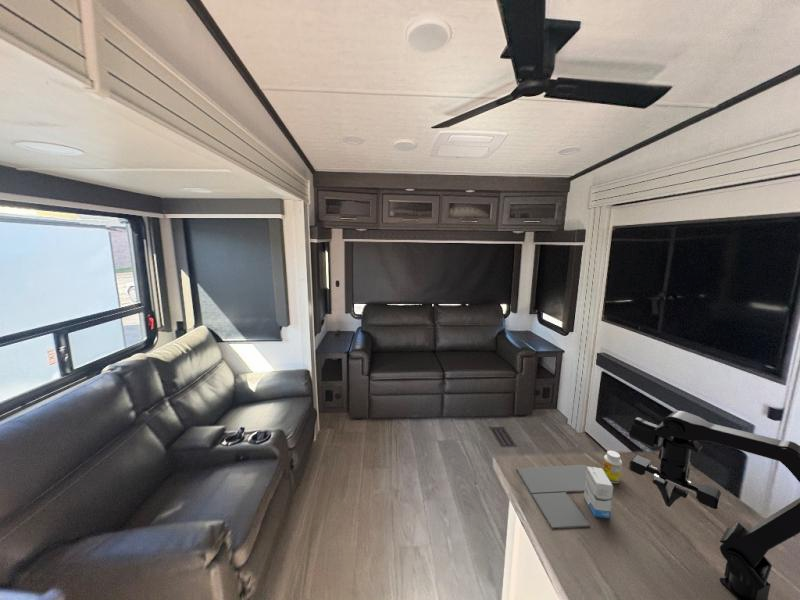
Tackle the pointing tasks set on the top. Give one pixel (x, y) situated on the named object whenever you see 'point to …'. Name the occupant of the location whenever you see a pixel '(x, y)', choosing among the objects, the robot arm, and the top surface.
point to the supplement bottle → (612, 466)
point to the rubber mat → (557, 492)
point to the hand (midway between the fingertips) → (668, 505)
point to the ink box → (598, 492)
